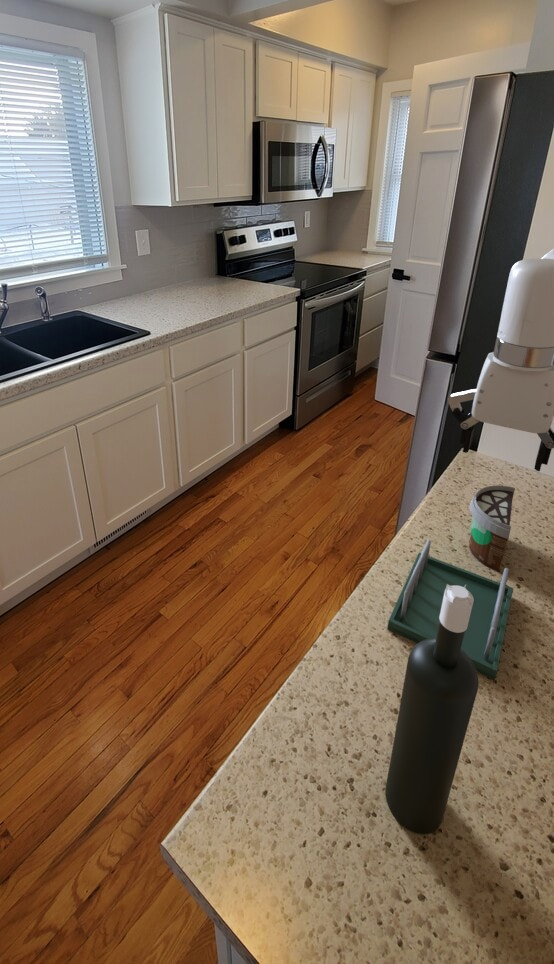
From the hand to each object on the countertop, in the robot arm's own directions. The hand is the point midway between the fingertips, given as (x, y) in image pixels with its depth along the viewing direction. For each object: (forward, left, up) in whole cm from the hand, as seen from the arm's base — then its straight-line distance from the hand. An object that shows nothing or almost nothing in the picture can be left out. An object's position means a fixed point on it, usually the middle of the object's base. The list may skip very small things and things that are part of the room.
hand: (501, 457), depth 74 cm
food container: (0, -3, -20) cm, 21 cm away
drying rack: (+1, +14, -20) cm, 24 cm away
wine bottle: (-1, +41, -20) cm, 46 cm away
